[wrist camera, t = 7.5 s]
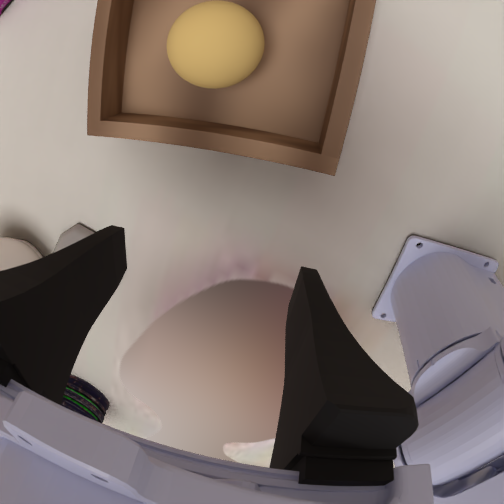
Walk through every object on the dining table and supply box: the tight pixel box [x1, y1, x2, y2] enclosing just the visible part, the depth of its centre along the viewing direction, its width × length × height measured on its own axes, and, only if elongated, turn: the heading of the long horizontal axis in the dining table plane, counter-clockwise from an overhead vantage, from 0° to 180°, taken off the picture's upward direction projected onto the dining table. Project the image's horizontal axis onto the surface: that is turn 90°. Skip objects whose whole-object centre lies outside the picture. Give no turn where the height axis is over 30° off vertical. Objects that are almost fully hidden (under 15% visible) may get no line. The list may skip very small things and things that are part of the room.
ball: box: [167, 0, 265, 89], centre depth 14 cm, size 5×5×5 cm
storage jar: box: [61, 374, 109, 423], centre depth 37 cm, size 10×10×15 cm
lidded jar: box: [0, 237, 43, 271], centre depth 25 cm, size 11×11×9 cm
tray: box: [87, 0, 376, 176], centre depth 15 cm, size 15×12×3 cm
